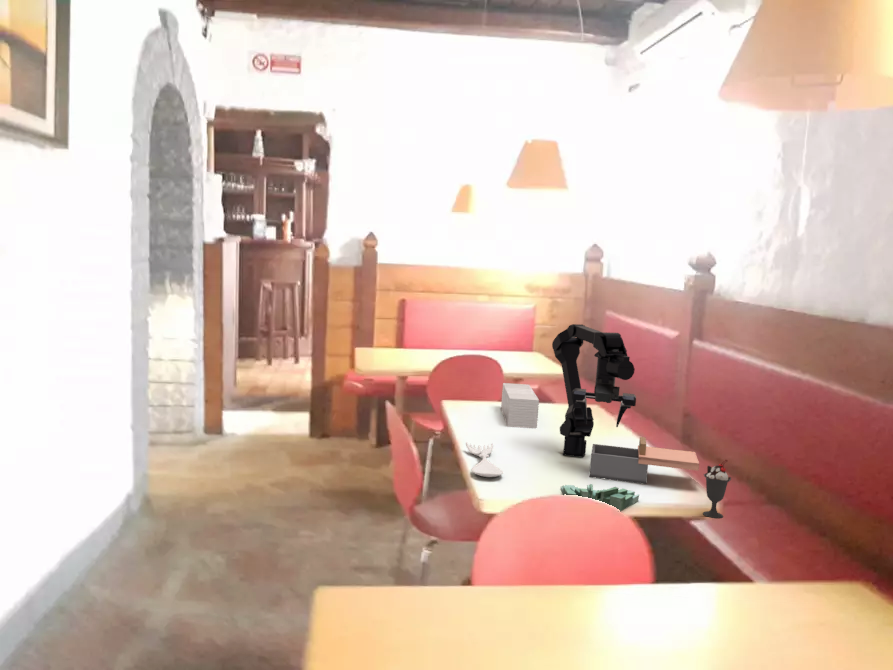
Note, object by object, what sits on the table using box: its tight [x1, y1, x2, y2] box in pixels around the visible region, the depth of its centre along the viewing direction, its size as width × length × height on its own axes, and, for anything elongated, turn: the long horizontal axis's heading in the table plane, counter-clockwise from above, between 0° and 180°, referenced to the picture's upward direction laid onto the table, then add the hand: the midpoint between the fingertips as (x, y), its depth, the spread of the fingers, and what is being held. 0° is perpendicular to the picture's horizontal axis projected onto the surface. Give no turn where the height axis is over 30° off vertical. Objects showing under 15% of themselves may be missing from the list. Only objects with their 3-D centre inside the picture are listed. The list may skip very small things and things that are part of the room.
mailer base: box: [589, 443, 649, 485], centre depth 229 cm, size 16×12×7 cm
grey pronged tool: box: [465, 441, 504, 478], centre depth 231 cm, size 9×32×4 cm, turn 3°
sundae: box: [702, 459, 732, 520], centre depth 198 cm, size 7×7×15 cm
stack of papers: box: [500, 382, 540, 429], centre depth 299 cm, size 32×11×11 cm, turn 0°
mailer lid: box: [637, 436, 700, 471], centre depth 226 cm, size 16×14×5 cm
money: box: [560, 483, 640, 512], centre depth 204 cm, size 20×16×5 cm
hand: (601, 425), depth 235 cm, fingers open, 9 cm apart
